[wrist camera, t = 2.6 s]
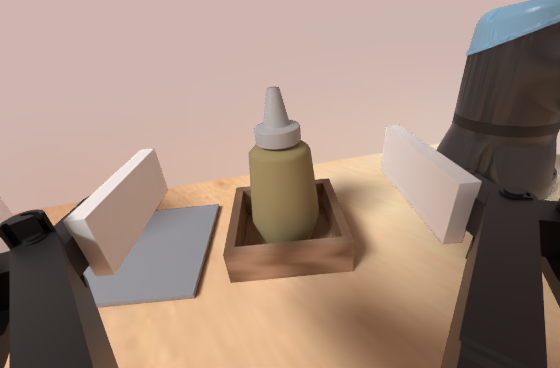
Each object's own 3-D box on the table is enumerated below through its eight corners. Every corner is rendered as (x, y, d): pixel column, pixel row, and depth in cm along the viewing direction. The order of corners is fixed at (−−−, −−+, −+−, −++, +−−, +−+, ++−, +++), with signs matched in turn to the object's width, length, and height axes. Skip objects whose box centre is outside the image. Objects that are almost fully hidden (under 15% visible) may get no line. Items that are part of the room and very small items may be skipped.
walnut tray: (328, 202, 39) (328, 178, 37) (353, 270, 28) (354, 242, 26) (241, 210, 40) (236, 187, 38) (230, 282, 28) (223, 255, 26)
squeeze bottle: (260, 217, 38) (238, 83, 29) (317, 215, 37) (314, 77, 28) (251, 260, 31) (219, 102, 22) (322, 258, 30) (319, 93, 21)
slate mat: (219, 207, 41) (218, 204, 41) (194, 298, 27) (193, 294, 27) (103, 219, 41) (101, 215, 41) (19, 314, 27) (16, 311, 27)
